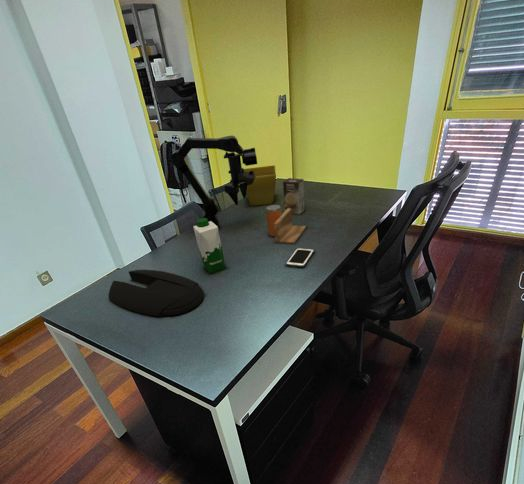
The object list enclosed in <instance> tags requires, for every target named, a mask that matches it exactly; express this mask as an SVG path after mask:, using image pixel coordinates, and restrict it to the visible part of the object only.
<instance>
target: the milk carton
mask: <svg viewBox="0 0 524 484" xmlns="http://www.w3.org/2000/svg"><path fill="white" fill-rule="evenodd" d="M196 222H197V224H196V225H193V226H192V227H193V232H194V235H195V239H196V243H197V247H198V251H199V254H200V258H201V262H202V264H203V267H204V268H205V270H206V271H207V272H208V273H209V274H210V275H211V274H214V273H217V272H220V271H222V270H225V269H226V263H225V256H224V252H223V247H222V241H221V237H220V232H219V229H218V227H217V226H216V225H215V224H214V223H213V222H211V221H210V222H208V219H207V218H203V217H202V218H198V219H197V221H196Z"/></svg>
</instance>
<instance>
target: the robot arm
mask: <svg viewBox="0 0 524 484" xmlns="http://www.w3.org/2000/svg"><path fill="white" fill-rule="evenodd" d="M193 149H194V150H195V149H196V150H197V149H198V150H199V149H200V150H201V149H205V150H220V151H224V152H225V153H224V154H223V159H227V160H228V162H227V163H228V167H229V170H228V171H227V172H228V174H230V180H229V183H227V184H225V185H224V187H223V192H224V193H226V194H227V195H228V196H229V197H230V198H231V200H232V202H233V203H234V205H235V206H238V205H239V197H238V194H239V192H240V194H241V196H242V198H243V199H246V197H247V195H246V192H247V186H248V185H251V184H252V183H254V179H255V178H256V177H255V173H254V171H252V170H251V171H250V172H249V173H248V172H247V173H246V172H245V171H244V169H245V168H244V167H242V164H243V165H245V167H247V166H254V165H258V159H257V158H258V157H257V153H256V148H255V147H251V148H245V149H244V148H243V146H241V145H240V143H239V140H238V138H237V137H236V136H235V135H226V136H222V137H218V138H214V137H213V138H211V137H209V138H208V137H191V136H190V137H187V138H186V139H185V141H184V143H183V144H182V145H181V146H180V147H179V149H175V150H174V151H173V152H172V153H171V156H170V162H171V164H172V165H173V166H174V168H176V169H177V170H178V171H179V172H180V173H181V174H182V175H183V176H184V177H185V179H186V180H187V182H188V183H189V185H190V186H191V187H192V189H193V191H194V192H195V193H196V195H197V196H198V198H199V199H200V201H201V203H202V206H203V209H204V211H203V214H202V218H207V219H208V222H210V221H211V222H213V223H214V224H215V225H216V226H217V227H218V230H219V229H220V227H221V226H220V221H219V219H218V217H217V216H216V215H218V211H219V204H218V201H217V200H216V199H215V196H214V195H212V196H210V195H209V194H208V192H207V191H206V190H205V189H204V187H203V185H202V184H201V182H200V181H199V179H198V177H197V176H196V174H195V172H194V171H193V170H192V168H191V166H190V164H189V163H190V162H189V161H188V158H187V156H188V154H189V153H190V152H191V150H193Z"/></svg>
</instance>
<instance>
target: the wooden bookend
mask: <svg viewBox="0 0 524 484" xmlns="http://www.w3.org/2000/svg"><path fill="white" fill-rule="evenodd" d="M274 227H275V237H274V238H275V243H279V244H292V245H295V244H296V243H297V241H298V240H299V239H300V237H301V235H302V234H303V233H304V231H306V229H307V226H306V225H296V224H295V225H294V224H293V214H292V211H291V209H289V208H287V210H286V211H285V210H284V211H283V213H281V216H280V217H279V219H278V220H277V221H276V222H275V223H274Z"/></svg>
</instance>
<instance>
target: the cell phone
mask: <svg viewBox="0 0 524 484" xmlns="http://www.w3.org/2000/svg"><path fill="white" fill-rule="evenodd" d="M314 253H315V249H313V248H304V247H297V248H296V249H295V250H294V251H293V253H292V254H291V256H290V257H289V258H288V260H287V261H286V263H285V266H287V267H291V268H292V267H295V268H305V266H306V265H307V264H308V262H309V260H310V259H311V257H312V256H313V254H314Z"/></svg>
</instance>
